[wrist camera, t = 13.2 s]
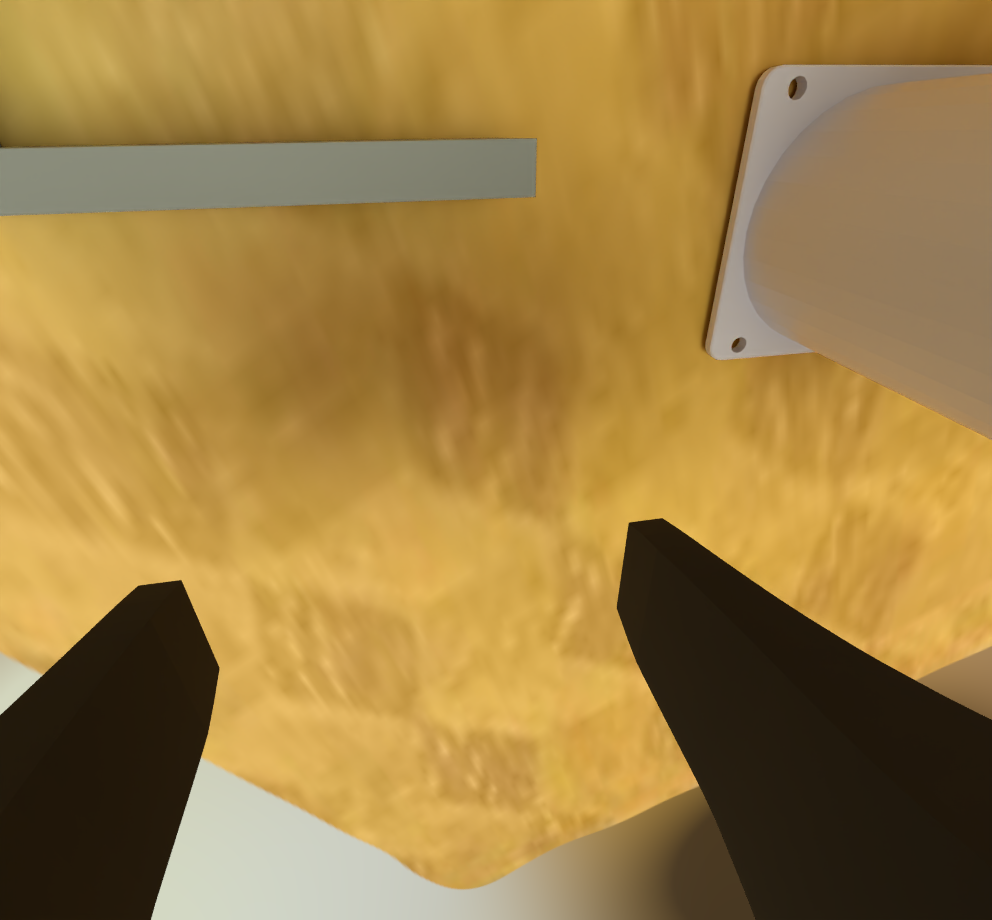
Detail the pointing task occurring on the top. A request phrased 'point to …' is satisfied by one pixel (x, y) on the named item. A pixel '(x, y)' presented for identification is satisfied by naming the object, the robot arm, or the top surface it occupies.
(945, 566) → the top surface
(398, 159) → the open side box
